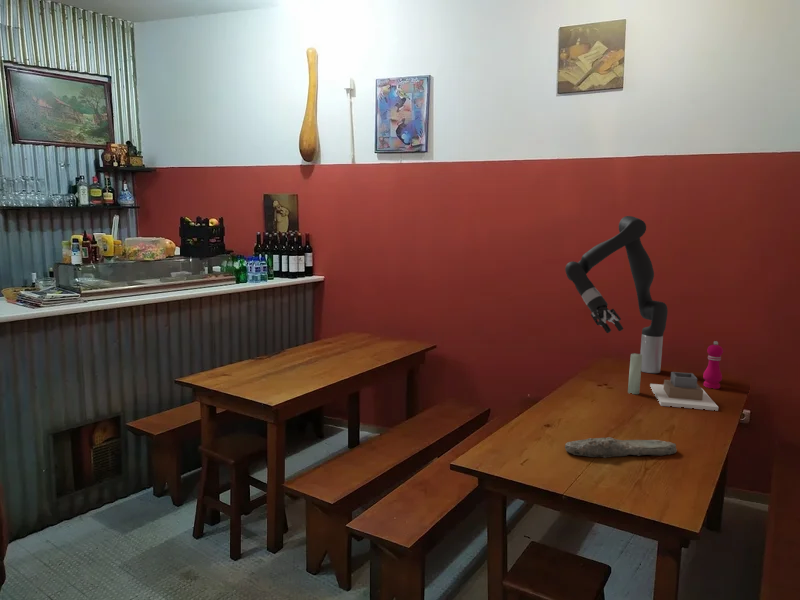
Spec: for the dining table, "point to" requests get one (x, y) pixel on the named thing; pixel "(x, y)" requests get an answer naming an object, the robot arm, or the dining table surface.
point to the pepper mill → (713, 367)
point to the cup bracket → (683, 392)
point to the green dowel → (635, 373)
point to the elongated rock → (619, 447)
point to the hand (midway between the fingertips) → (615, 331)
